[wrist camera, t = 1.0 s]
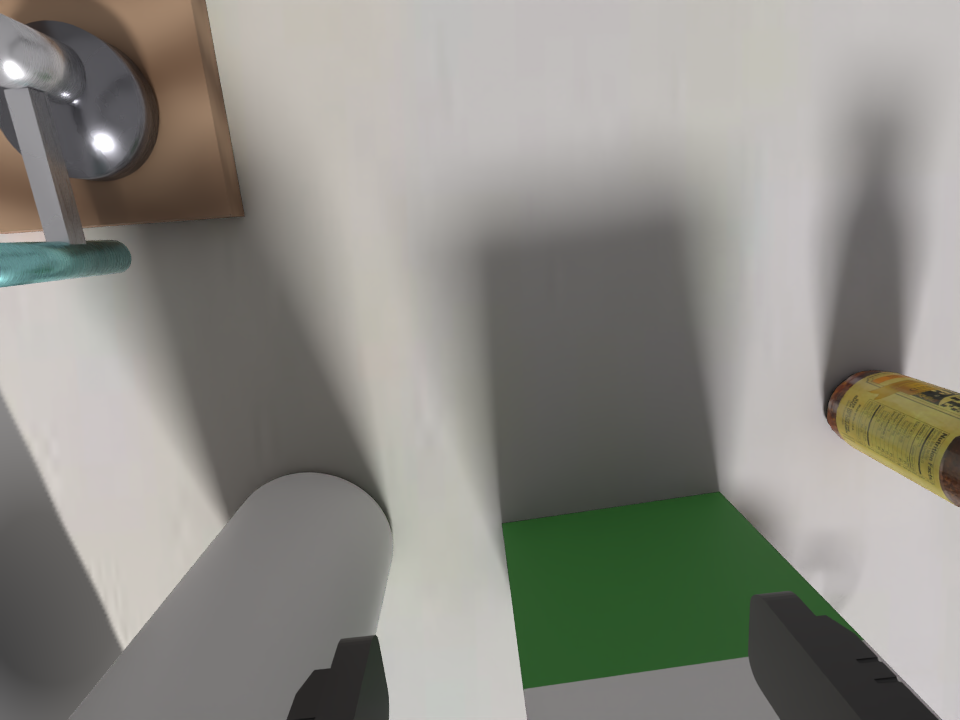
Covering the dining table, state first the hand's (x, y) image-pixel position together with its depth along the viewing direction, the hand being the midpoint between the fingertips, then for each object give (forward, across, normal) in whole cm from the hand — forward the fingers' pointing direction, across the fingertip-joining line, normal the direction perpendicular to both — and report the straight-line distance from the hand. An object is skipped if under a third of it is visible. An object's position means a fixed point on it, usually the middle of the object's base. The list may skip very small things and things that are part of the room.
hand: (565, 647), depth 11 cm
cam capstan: (+25, +23, -15) cm, 37 cm away
